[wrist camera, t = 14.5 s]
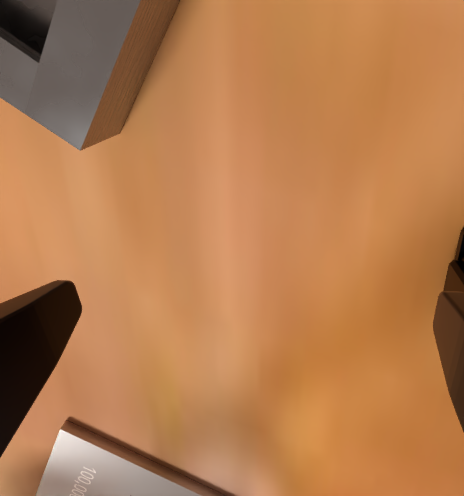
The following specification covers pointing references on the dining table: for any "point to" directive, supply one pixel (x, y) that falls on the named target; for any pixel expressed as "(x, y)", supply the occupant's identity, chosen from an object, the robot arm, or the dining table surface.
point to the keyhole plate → (79, 61)
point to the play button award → (108, 470)
